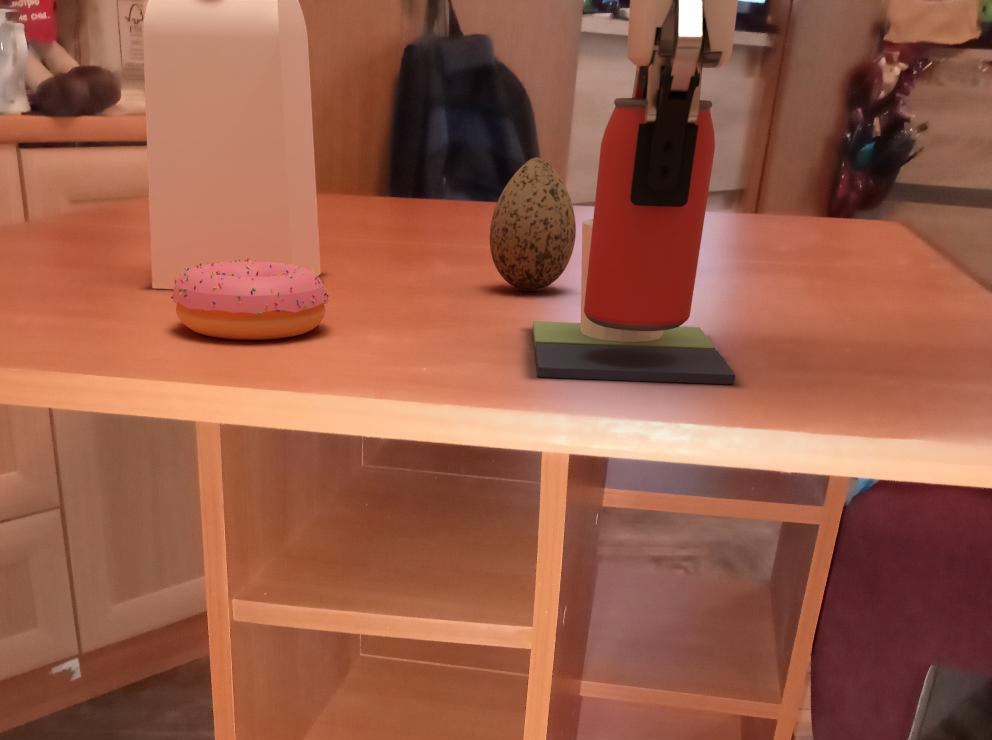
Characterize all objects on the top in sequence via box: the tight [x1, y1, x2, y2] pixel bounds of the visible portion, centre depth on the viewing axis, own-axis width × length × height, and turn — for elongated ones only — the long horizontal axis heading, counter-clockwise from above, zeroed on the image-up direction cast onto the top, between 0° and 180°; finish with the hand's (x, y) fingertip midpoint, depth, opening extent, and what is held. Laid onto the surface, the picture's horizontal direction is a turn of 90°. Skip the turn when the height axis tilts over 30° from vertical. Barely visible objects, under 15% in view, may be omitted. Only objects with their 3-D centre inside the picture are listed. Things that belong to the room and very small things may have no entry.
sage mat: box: [532, 320, 716, 350], centre depth 80 cm, size 12×7×1 cm, turn 85°
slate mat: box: [534, 344, 736, 385], centre depth 73 cm, size 12×7×1 cm, turn 85°
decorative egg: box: [489, 156, 577, 292], centre depth 96 cm, size 7×7×10 cm
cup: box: [580, 218, 663, 342], centre depth 78 cm, size 7×7×7 cm
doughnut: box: [170, 258, 330, 341], centre depth 81 cm, size 11×11×4 cm
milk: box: [142, 0, 322, 290], centre depth 93 cm, size 12×12×26 cm
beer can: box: [584, 97, 716, 331], centre depth 69 cm, size 7×7×12 cm
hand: (651, 196), depth 68 cm, fingers closed on beer can, 6 cm apart
